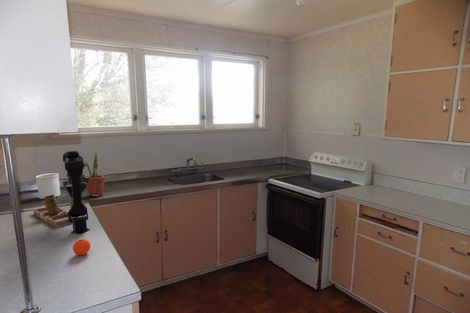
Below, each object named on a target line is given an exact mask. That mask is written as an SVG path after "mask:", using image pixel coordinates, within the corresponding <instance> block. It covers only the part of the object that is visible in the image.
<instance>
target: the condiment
mask: <svg viewBox="0 0 470 313" xmlns="http://www.w3.org/2000/svg"><path fill="white" fill-rule="evenodd" d="M44 199H45V200H44V204H45V207H46V208H47V211H48V214H49V216H53V215H56V214H60V213H62V212H60V210H59V208H60V207H59V203H58V200H57V198H55V197H54V195H50V196H46V197H44ZM63 212H65V211H63ZM49 216H48V217H49Z"/></svg>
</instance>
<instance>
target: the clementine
mask: <svg viewBox="0 0 470 313" xmlns="http://www.w3.org/2000/svg"><path fill="white" fill-rule="evenodd" d="M90 249H91V243H90V241H89V240H88V239H86V238H81V237H80V238H77V239H76V241H75V242H74V243H73V245H72V250H73V251H72V252H74V254H75V255H77V256H84V255H86V254H87V253H88V252H89V251H90Z"/></svg>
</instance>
